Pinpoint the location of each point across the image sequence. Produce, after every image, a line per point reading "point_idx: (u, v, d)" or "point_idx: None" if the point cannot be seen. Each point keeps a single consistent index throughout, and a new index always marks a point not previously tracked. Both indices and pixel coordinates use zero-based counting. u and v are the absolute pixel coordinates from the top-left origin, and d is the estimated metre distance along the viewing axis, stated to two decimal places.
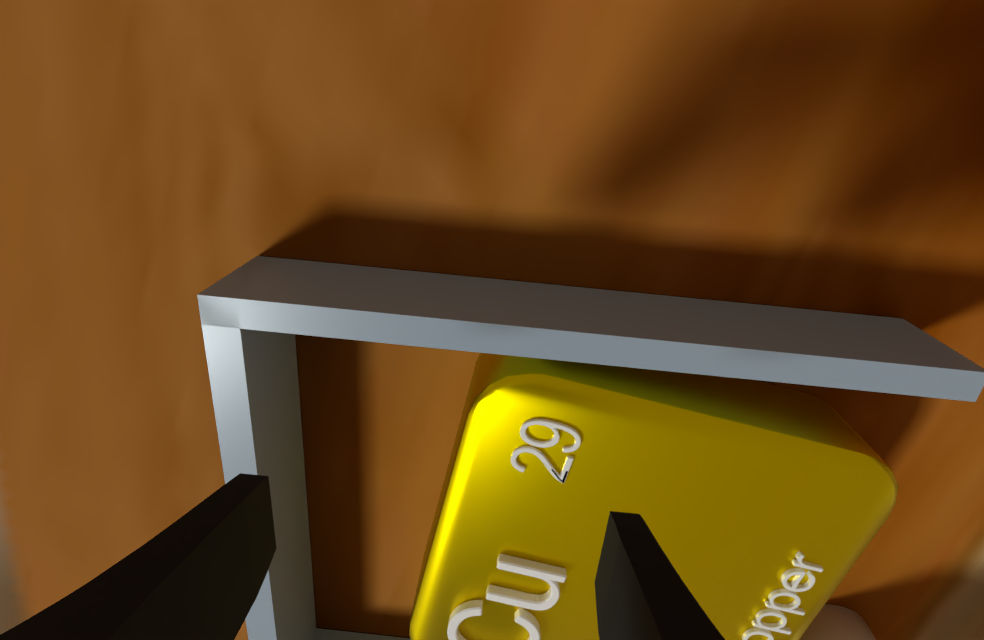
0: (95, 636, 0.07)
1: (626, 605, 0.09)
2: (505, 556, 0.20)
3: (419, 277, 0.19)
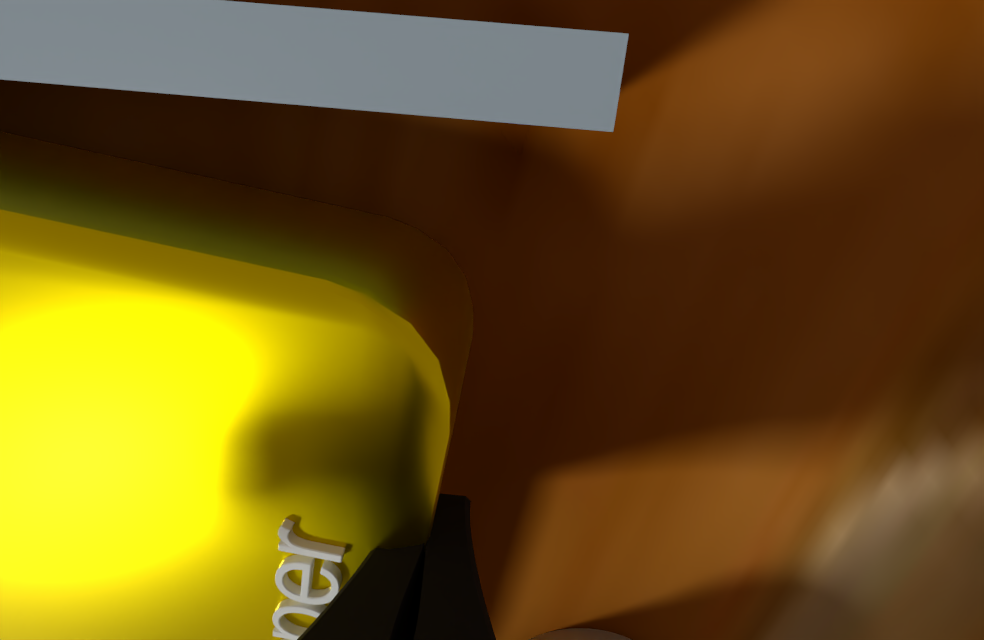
0: None
1: None
2: None
3: None
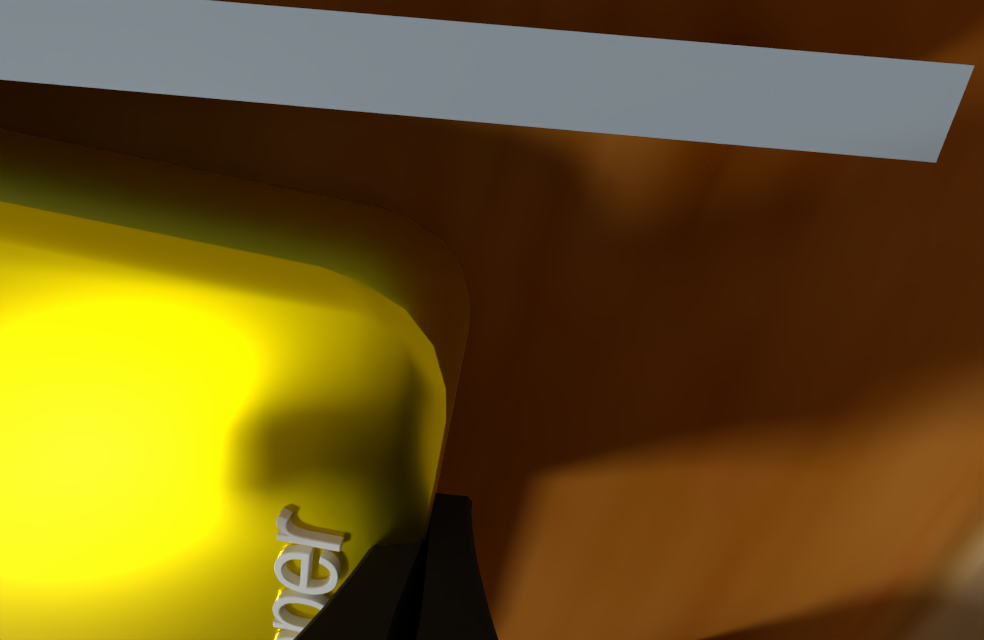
0: None
1: None
2: None
3: None
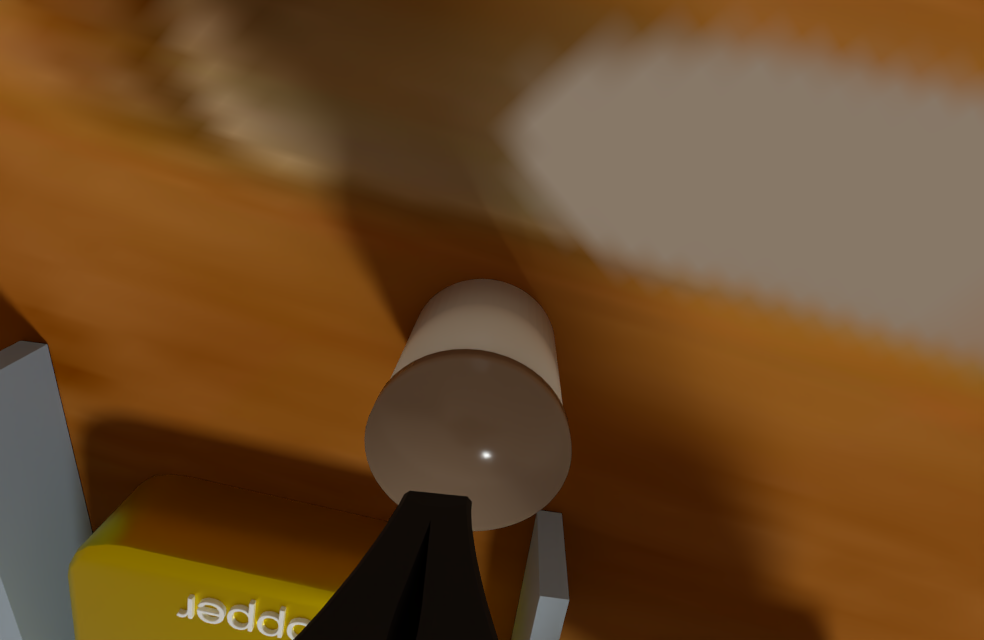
0: None
1: None
2: None
3: None
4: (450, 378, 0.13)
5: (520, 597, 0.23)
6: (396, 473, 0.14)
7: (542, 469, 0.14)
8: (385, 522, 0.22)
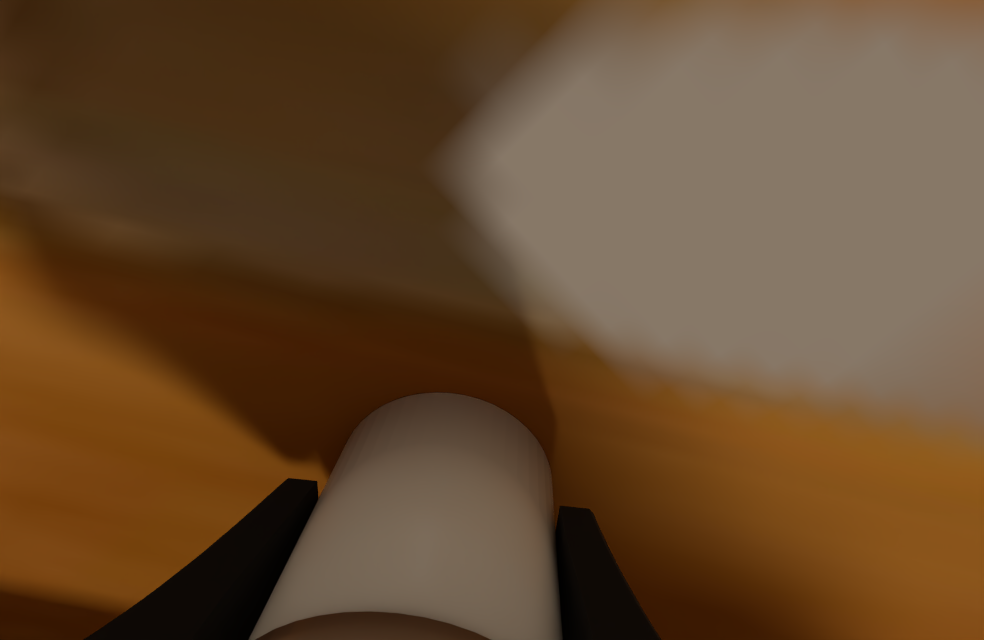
0: None
1: (567, 599, 0.09)
2: None
3: None
4: None
5: None
6: None
7: None
8: None
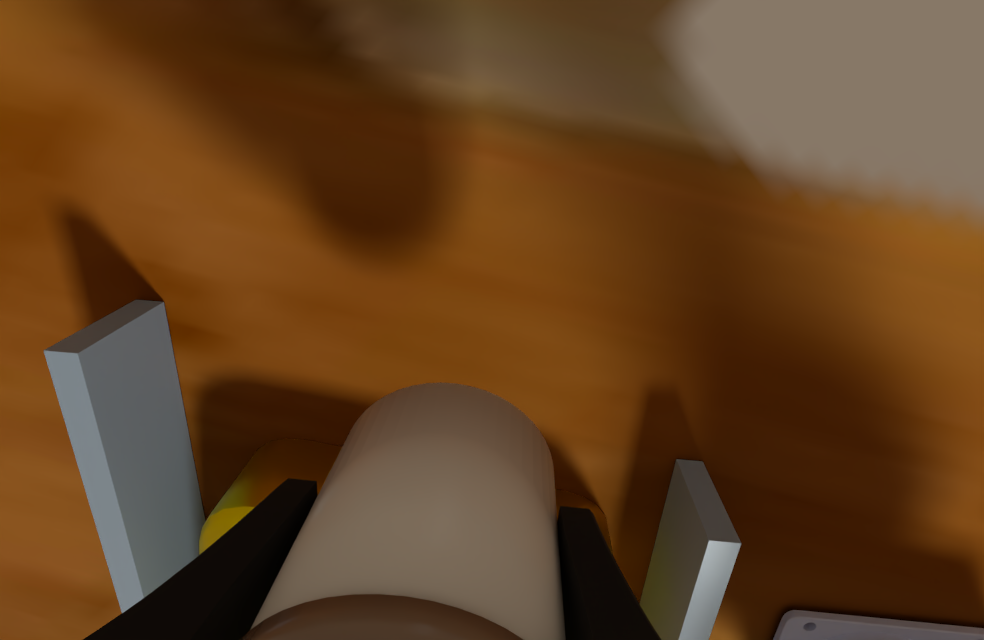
0: None
1: (568, 599, 0.09)
2: None
3: None
4: None
5: (653, 556, 0.22)
6: None
7: None
8: None
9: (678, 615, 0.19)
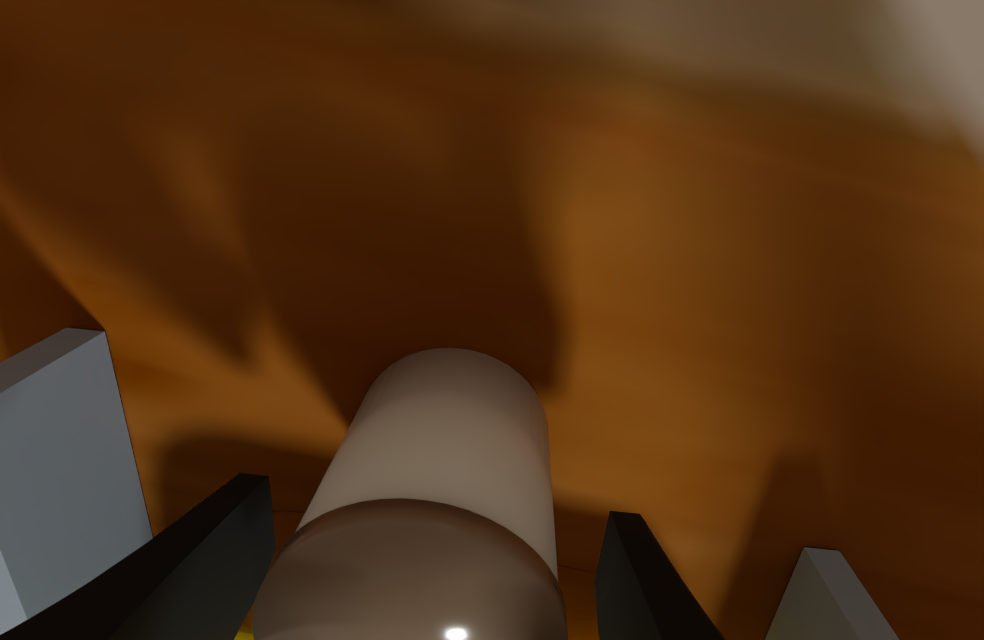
0: (95, 636, 0.07)
1: (626, 605, 0.09)
2: None
3: None
4: (374, 551, 0.08)
5: None
6: None
7: None
8: (583, 573, 0.16)
9: None
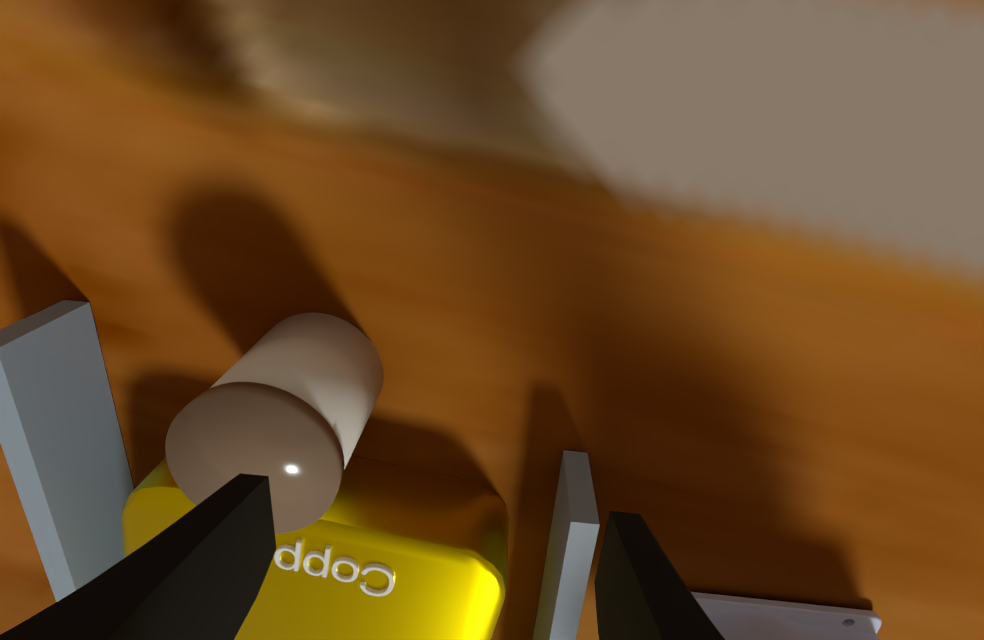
0: (95, 636, 0.07)
1: (626, 605, 0.09)
2: None
3: None
4: (225, 407, 0.15)
5: (549, 540, 0.24)
6: (197, 485, 0.16)
7: (316, 481, 0.16)
8: (421, 472, 0.23)
9: (555, 591, 0.21)
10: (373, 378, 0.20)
